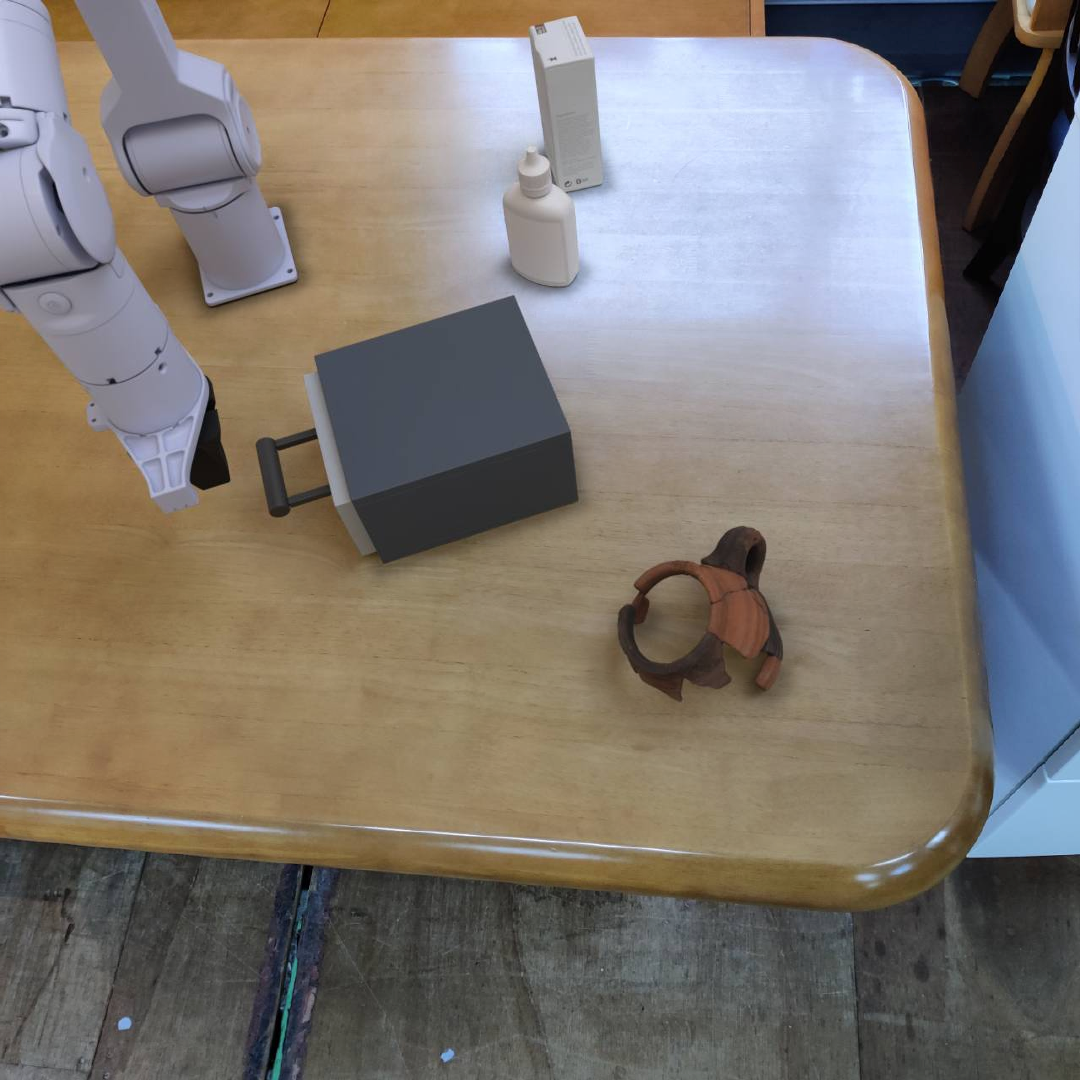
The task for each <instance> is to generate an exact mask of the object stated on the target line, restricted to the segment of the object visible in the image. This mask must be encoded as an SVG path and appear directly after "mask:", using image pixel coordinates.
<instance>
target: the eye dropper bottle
mask: <svg viewBox="0 0 1080 1080" xmlns="http://www.w3.org/2000/svg"><path fill="white" fill-rule="evenodd" d="M517 175H518V180H517V181H514V182H513V183H511V185H509V186H508V188H507V189H506V191H505V192H504V194H503V197H502V209H503V217H504V222H505V230H506V235H507V236H506V237H507V243H508V248H509V254H510V255H509V256H510V260H511V265H512V268H513V269H514V271H515V272H516V273H517V274H518V275H520V276H521V277H523V278H525V279H526V280H528V281H530V282H533V283H535V284H538V285H542V286H546V287H568V286H570V284H571V283H572V282H573V281H574V280H575V278H576V276H577V275H578V274H579V271H580V268H581V267H580V255H579V241H578V231H577V230H578V229H577V218H576V207H575V203H574V201H573V199H572V197H570V195H569V194H568V193H567V192H564V191H563V190H562V189H560V188H559V187H557V185H556V184H554V183H553V180H552V170H551V167H550V163H549V160H548V157H547V156H544V155H541V154H539V152H538V149H537V147H536V146H535V145H531V146H528V147H527V148H526V155H525V156H524V157H523V158H522V159H520V160H519V162H518V163H517Z"/></svg>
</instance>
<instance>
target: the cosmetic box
mask: <svg viewBox="0 0 1080 1080" xmlns="http://www.w3.org/2000/svg"><path fill="white" fill-rule="evenodd" d="M528 34H529V43H530V51H531V58H532V65H533V73H534V80H535V86H536V93H537V94H536V95H537V101H538V106H539V115H540V121H541V129H542V137H543V143H544V150H545V151H544V152H545V154H546V158H547V159H548V160H549V163H550V169H551V174H552V176H553V180H554V182H555V185H556V186H557V187H559V188H560V189H562V190H563V191H564V192H565V193H568V192H574V191H579V190H582V189H588V188H592V187H596V186H599V185H602V184H603V182H604V169H603V156H602V155H603V154H602V144H601V128H600V116H599V115H600V114H599V102H598V101H599V100H598V90H597V89H598V88H597V79H596V63H595V61H596V59H595V56H594V55H595V54H594V53H593V51H592V49H591V46H590V44H589V42H588V39H587V37H586V35H585V32H584V30H583V27H582V26H581V23H580V21H579V19H578V16H577V15H571V16H567V17H563V18H559V19H555V20H551V21H546V22H543V23H537V24H535V25H531V26H529V28H528Z"/></svg>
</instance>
